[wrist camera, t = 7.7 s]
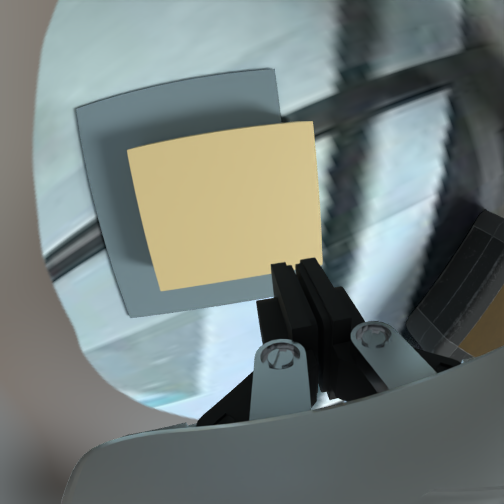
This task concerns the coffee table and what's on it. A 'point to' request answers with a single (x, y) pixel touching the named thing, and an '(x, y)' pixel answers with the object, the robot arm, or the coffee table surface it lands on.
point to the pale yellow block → (228, 202)
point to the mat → (121, 183)
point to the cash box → (466, 297)
